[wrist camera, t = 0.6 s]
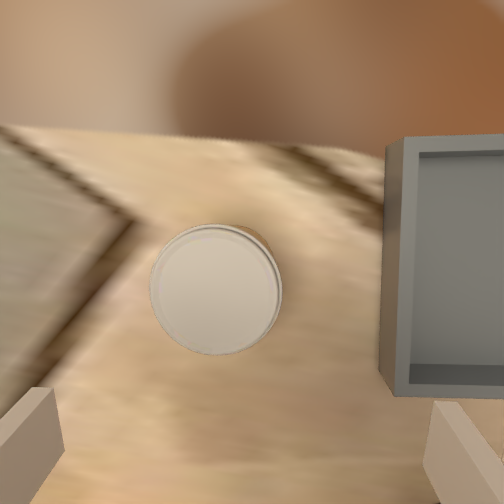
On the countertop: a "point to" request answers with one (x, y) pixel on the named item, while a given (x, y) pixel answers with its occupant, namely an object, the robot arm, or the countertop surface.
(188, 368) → the countertop surface
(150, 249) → the countertop surface
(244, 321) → the coffee cup
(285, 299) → the countertop surface
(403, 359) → the walled box
